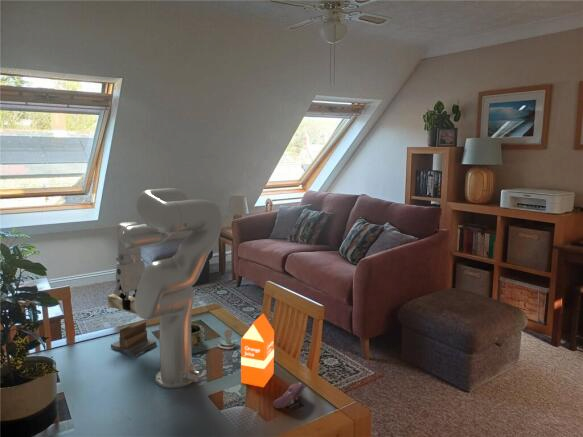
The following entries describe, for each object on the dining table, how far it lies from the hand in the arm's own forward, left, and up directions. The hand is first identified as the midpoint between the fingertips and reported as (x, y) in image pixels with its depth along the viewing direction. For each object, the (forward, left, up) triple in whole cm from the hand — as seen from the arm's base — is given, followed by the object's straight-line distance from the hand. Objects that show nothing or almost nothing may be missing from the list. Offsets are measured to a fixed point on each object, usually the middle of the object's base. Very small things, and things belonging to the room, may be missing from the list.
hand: (131, 307), depth 155 cm
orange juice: (-50, -5, -15) cm, 53 cm away
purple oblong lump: (-65, +1, -15) cm, 67 cm away
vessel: (-16, -12, -15) cm, 25 cm away
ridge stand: (0, 0, -15) cm, 15 cm away
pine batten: (0, 0, -1) cm, 1 cm away
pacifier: (-28, -18, -15) cm, 37 cm away
